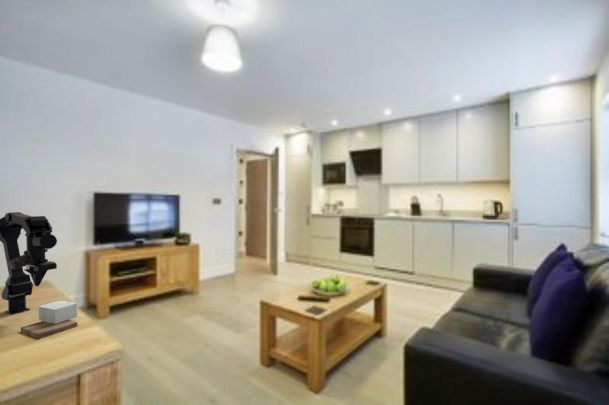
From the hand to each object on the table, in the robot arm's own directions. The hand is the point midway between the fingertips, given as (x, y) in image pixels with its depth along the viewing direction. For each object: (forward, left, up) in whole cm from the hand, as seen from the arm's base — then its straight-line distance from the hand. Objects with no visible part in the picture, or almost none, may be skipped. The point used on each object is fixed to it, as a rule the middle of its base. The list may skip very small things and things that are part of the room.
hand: (37, 286), depth 130 cm
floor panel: (+17, -4, -13) cm, 22 cm away
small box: (+8, +1, -9) cm, 12 cm away
